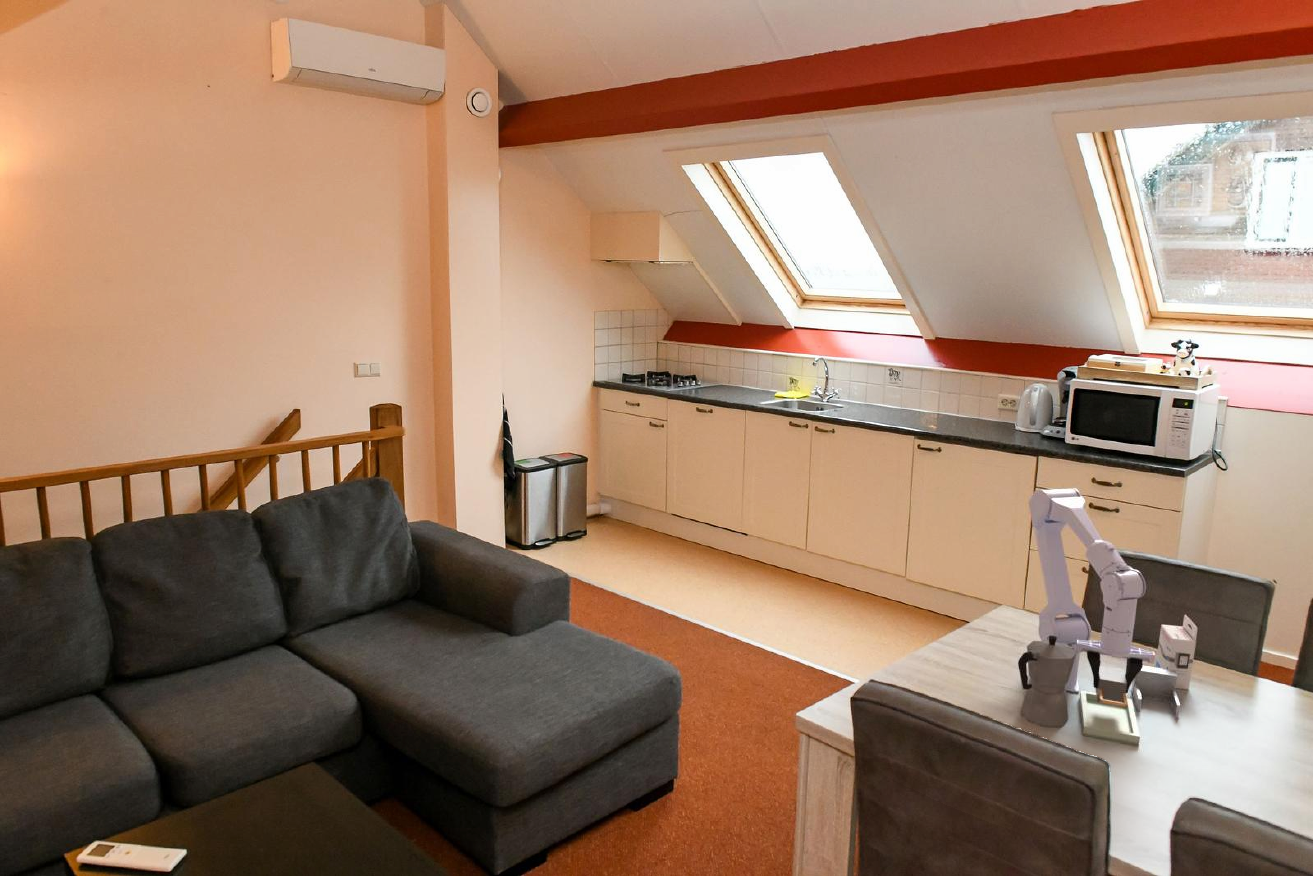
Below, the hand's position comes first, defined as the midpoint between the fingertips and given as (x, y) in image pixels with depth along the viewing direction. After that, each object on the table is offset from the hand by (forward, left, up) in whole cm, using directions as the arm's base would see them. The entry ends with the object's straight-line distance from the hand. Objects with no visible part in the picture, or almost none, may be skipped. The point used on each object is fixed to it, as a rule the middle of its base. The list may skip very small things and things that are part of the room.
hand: (1110, 688), depth 194 cm
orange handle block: (0, -2, -2) cm, 3 cm away
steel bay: (+10, +10, -6) cm, 16 cm away
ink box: (+15, +25, -6) cm, 29 cm away
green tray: (0, -2, -6) cm, 7 cm away
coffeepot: (-13, -6, -6) cm, 16 cm away
